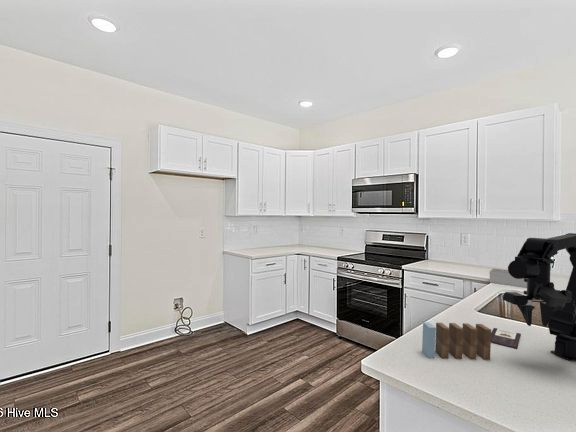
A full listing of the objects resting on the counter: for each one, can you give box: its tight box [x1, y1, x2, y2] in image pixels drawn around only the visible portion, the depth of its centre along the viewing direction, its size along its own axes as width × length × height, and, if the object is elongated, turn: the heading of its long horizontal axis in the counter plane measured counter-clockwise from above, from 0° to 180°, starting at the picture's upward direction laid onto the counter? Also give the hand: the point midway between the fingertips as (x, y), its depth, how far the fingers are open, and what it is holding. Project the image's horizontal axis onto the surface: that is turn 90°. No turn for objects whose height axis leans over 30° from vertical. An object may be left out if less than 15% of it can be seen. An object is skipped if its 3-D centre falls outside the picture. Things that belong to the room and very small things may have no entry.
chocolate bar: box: [491, 327, 522, 350], centre depth 120 cm, size 9×1×18 cm
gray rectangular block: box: [489, 268, 527, 289], centre depth 218 cm, size 17×28×9 cm, turn 49°
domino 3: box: [448, 322, 463, 360], centre depth 104 cm, size 2×5×10 cm, turn 179°
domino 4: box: [462, 322, 477, 361], centre depth 104 cm, size 2×5×10 cm, turn 179°
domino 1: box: [421, 321, 436, 359], centre depth 104 cm, size 2×5×10 cm, turn 179°
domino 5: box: [475, 323, 492, 361], centre depth 104 cm, size 2×5×10 cm, turn 179°
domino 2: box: [435, 322, 450, 360], centre depth 104 cm, size 2×5×10 cm, turn 179°
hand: (536, 325), depth 100 cm, fingers open, 5 cm apart
